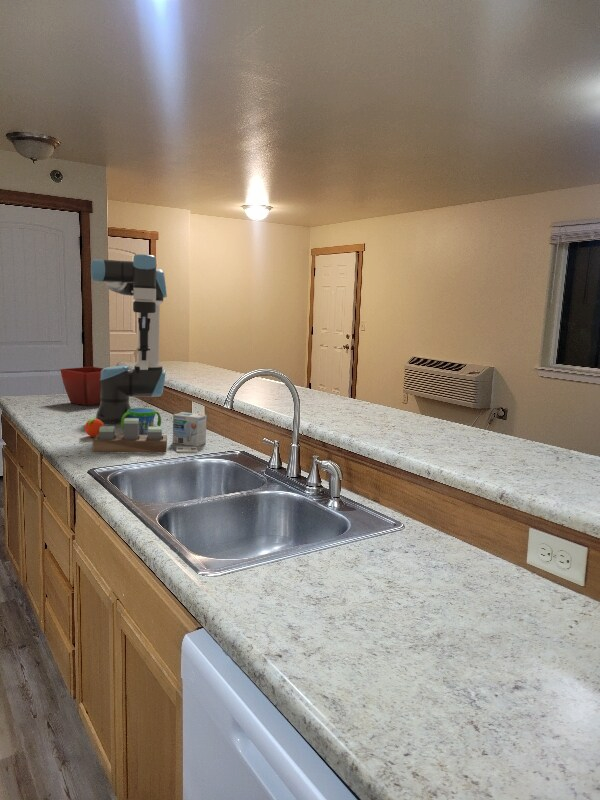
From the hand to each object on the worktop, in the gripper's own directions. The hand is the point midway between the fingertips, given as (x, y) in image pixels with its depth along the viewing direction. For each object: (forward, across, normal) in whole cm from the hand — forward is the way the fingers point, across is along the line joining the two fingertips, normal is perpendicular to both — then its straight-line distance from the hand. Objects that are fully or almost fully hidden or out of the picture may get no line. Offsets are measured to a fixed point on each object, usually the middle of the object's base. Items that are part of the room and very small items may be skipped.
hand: (143, 369), depth 209 cm
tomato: (+28, -15, -18) cm, 37 cm away
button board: (+27, +5, -4) cm, 28 cm away
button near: (+27, +5, -12) cm, 30 cm away
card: (+27, +7, +15) cm, 32 cm away
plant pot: (+30, -92, -30) cm, 101 cm away
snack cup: (+28, -16, -2) cm, 33 cm away
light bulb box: (+28, -5, +16) cm, 33 cm away
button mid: (+24, +5, -4) cm, 25 cm away
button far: (+27, +5, +4) cm, 28 cm away
